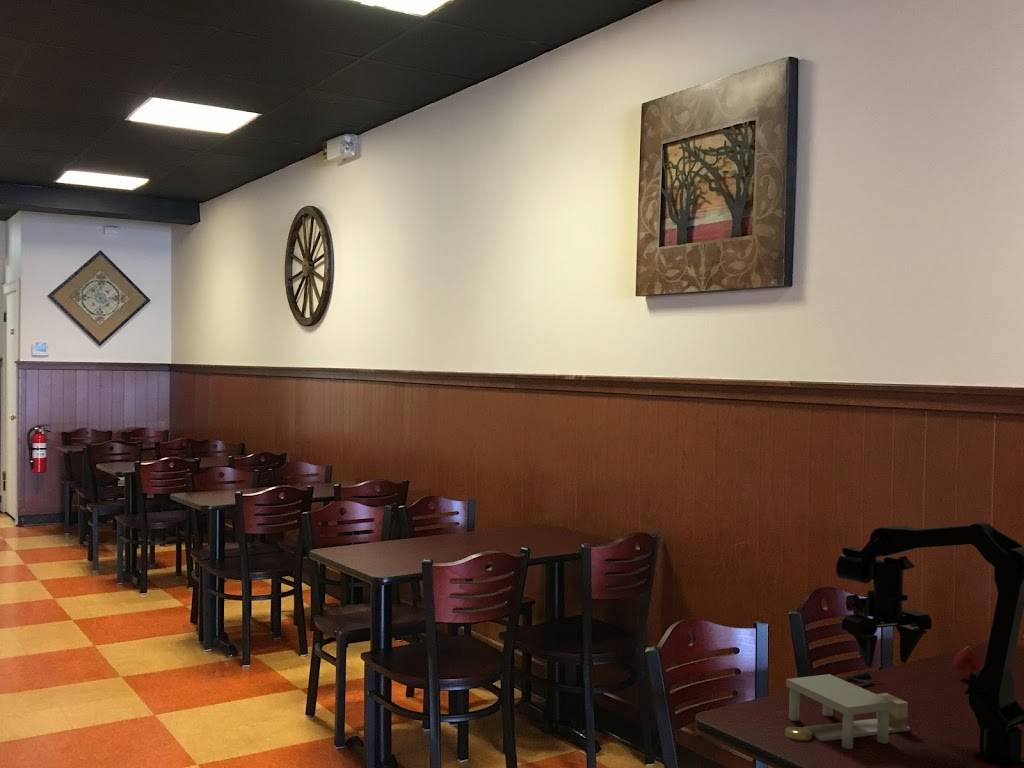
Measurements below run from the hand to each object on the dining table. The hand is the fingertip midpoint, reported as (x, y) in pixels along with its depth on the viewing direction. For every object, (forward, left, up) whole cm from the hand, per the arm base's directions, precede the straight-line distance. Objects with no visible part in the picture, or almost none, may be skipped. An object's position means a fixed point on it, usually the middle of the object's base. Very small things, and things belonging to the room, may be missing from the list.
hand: (885, 664), depth 198 cm
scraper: (-1, +8, -12) cm, 15 cm away
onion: (+17, -41, -12) cm, 46 cm away
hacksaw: (+20, -9, -13) cm, 25 cm away
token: (0, +22, -12) cm, 25 cm away
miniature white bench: (0, +12, -12) cm, 17 cm away
